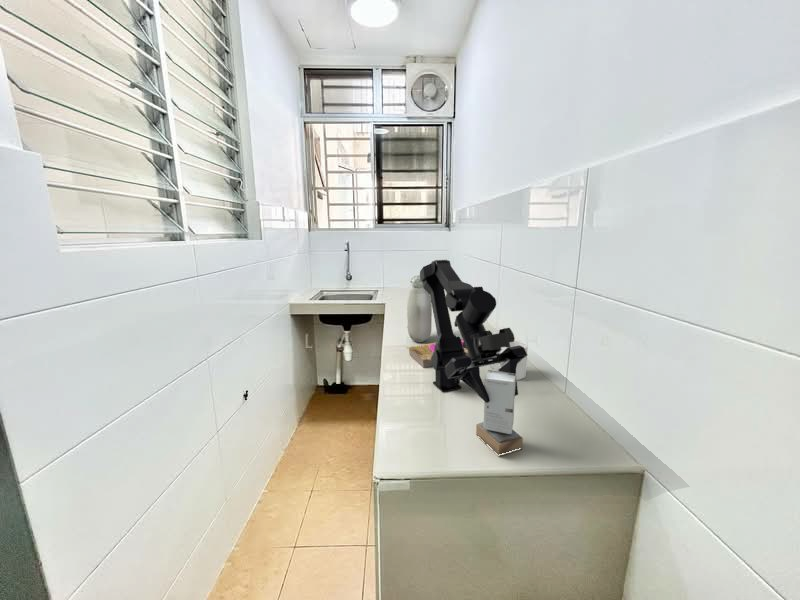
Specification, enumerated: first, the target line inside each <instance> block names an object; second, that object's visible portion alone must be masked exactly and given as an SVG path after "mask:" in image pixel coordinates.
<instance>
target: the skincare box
mask: <svg viewBox="0 0 800 600" xmlns="http://www.w3.org/2000/svg"><path fill="white" fill-rule="evenodd" d="M484 379H485V380H484V386H485V389H486V391H487V393H488V396H489V399H490V402H488V403H486V402H485V401H484V400H483V402H484V405H483V422H484V429H487V430H492V431H496V432H501V433H506V434H512V429H513V426H514V416H515V397H516V396H515V382H516V374H513V373H506V372H502V371H498V370H493V369H492V370H490V369H488V370H487V373H486V375H485V378H484Z"/></svg>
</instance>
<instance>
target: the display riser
mask: <svg viewBox="0 0 800 600" xmlns="http://www.w3.org/2000/svg"><path fill="white" fill-rule="evenodd" d="M475 427H476V429H475V430H476V431H475V433H476V434H475V435H477V436H479V437H480V438H481V439H482V440H483V441H484V442H485V443H486V444H488V445H489V446H490V447H491V448H492V449H493V450H494V451H495V452H496V453H497V454H498V455H499V454H502V453H506V452H509V451H512V450H515V449H519V448H522V449H523V440H524V439H523V436H521V435H520V434H519V433H517V432H516V430H514V429H513V428H512V434H506V433H501V432H496V431H492V430H487V429H484V421H482V422H478V423H476V426H475ZM477 436H476V437H477ZM480 438H479V439H480ZM481 439H480V440H481ZM482 440H481V441H482ZM483 441H482V442H483ZM484 442H483V443H484ZM485 443H484V444H485ZM486 444H485V445H486Z"/></svg>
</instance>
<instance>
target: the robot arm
mask: <svg viewBox="0 0 800 600" xmlns="http://www.w3.org/2000/svg"><path fill="white" fill-rule="evenodd" d="M419 276H420V280H421V281H422V284H423V288H424V289H425V290H426V291H427V292H428V293H429V294H430V299H431V305H432V313H433V314H432V315H433V319H434V324H435V328H436V334H437V339H436V341H435V343H436V344H435V347H434V349H435V351H434V353H433V352H432V354H433V355H431V356H430V358H431V364H432V368H433V369H434V371H435V381H433V382H432V384H433V385H434V386H435V387H436V388H437V389H438V390H439V391H441V392H442V393H444V392H445V393H446V392H450V391H455V390H459V389H462V385H461V384H460V383H461V381H462V382H463V383H464V384H466V385H467V387H469V388H470V389H471V390H473V391H474V393H475V394H477V396H479V397H480V398H481V399H482V400H483V402H484V401H485V402H486V403H488V402H490V399H489V396H488V393H487V391H486V389H485V383H484V382H483V380H482V378H481V375H480V374H481V372H480V367H486V366H489V365H491V364H493V365H496V364H498V365H499V364H500V366H501V368H500V369H499V370H497V371H502V372H506V373H513V374H516V367H517V363H519V362H520V361H521V360H522V359H523V358H525V357H526V356H527V357H528V352H527V353H526V351H525V349H524V347H522V346H520V345H519V346H513V347H510V343H509V342H514V340H515V339H516V338H515V335H514V332H513V331H512V329H511V328H510V327H505V328H501V329H499V330H498V333H493V332H492V331H491V330H486V327H485V325H484V324H485V323H486V321H488V318H489V317H490V316H491V315H492V313H493V312H494V310H495V308H496V307H497V299H496V297H494V296H493V295H492V294H491V293H490V292H489V291H487V290H484V288H483V286H472V284H470V283H466V282H464V281H462V280H461V278H460V277H459V275H458V274H457V273H456V271H455V270H454V269H453V267H452V264H451V261H450V260H448V259H436V260H432V261H431V263H429V264H427V265H424V266H423V267H422V268H421V269H420V271H419ZM450 312H459V313H458V314H457V315H456V316H455V320H454V327H455V328H458V332H459V333H460V335H461V337H460V336H456V335H455V333H454V331H453V326H452V325H453V324H452V321H451V317H450ZM461 339H463V341H464V343H463V344H462V343H461ZM515 341H516V340H515ZM462 346H463V347H462ZM501 347H508V348H507V349H506V350H504V351H503V352H502V353H501V354H497V352H500V351H501V350H502V349H501ZM465 348H467V351H468V353H469V355H470V357H469V356H467V355H466V353H465V352H466V350H465V351H464V349H465ZM491 359H492V360H491ZM489 360H490V361H489ZM517 382H518V380H516V382H515V397H516V396H517V395H518V394H519V393H518V392H519V390H518V383H517Z"/></svg>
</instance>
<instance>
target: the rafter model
mask: <svg viewBox="0 0 800 600" xmlns="http://www.w3.org/2000/svg"><path fill="white" fill-rule="evenodd" d="M460 339H461V343H462V344H463V343H464V341H463V338H460ZM435 344H436V342H433V343H432V342H431V343H427V344H419V345H413V346H406V347H405V348H406V349H407V350H408V351H409V354H408V355H410V356H411V359H412V360H414V361H415V362H416V363H417V364H418V365H419V366H421V368H423V369H425V368H430V367H431V368H433V366H432V364H431V356H432V355H433V353H434V351H435V349H434V347H435ZM462 347H463V346H462ZM463 349H464V351H465V353H466V355H467V356H469V357H470V355H469V353H468V350H467V348H463ZM497 354H499V353H497ZM410 356H409V357H410Z"/></svg>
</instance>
